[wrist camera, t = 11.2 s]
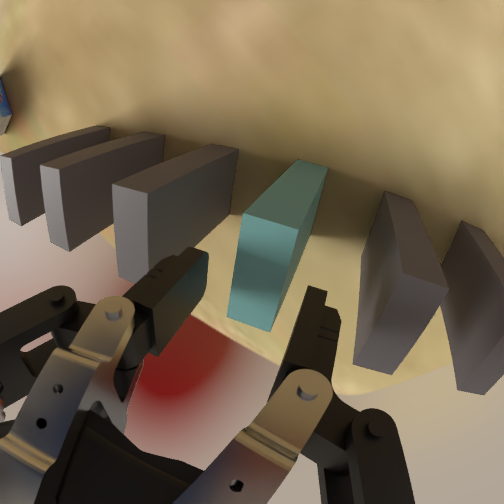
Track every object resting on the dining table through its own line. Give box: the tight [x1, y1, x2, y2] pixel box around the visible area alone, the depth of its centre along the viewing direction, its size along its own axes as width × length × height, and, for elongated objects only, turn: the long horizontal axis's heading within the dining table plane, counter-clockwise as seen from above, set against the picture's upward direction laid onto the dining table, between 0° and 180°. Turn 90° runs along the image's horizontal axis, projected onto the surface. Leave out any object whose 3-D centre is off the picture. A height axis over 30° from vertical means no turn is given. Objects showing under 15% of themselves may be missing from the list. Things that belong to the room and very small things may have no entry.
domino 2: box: [40, 132, 165, 252], centre depth 18 cm, size 5×2×10 cm, turn 170°
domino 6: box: [440, 221, 504, 395], centre depth 14 cm, size 5×2×10 cm, turn 170°
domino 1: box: [0, 126, 110, 226], centre depth 20 cm, size 5×2×10 cm, turn 170°
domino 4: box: [227, 159, 328, 332], centre depth 16 cm, size 5×2×10 cm, turn 170°
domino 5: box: [353, 191, 449, 375], centre depth 15 cm, size 5×2×10 cm, turn 170°
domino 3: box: [112, 144, 239, 284], centre depth 17 cm, size 5×2×10 cm, turn 170°
